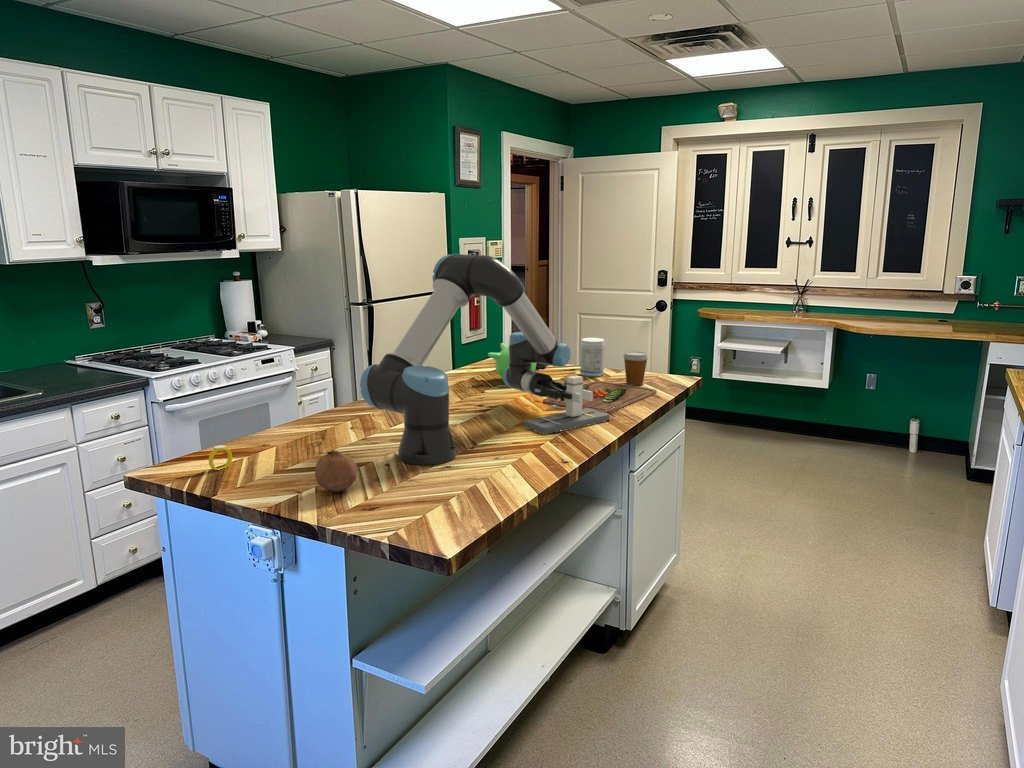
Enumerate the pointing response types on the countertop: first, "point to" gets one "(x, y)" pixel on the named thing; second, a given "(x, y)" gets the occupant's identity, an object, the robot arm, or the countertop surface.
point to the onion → (336, 471)
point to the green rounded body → (504, 359)
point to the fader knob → (576, 386)
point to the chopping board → (608, 396)
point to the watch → (216, 449)
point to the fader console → (565, 421)
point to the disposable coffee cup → (635, 367)
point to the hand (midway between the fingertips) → (586, 397)
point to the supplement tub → (592, 357)
